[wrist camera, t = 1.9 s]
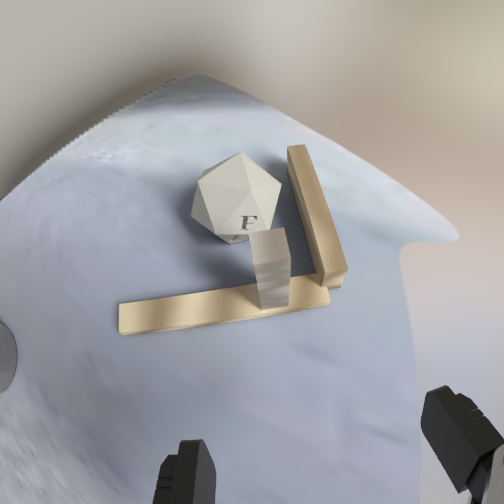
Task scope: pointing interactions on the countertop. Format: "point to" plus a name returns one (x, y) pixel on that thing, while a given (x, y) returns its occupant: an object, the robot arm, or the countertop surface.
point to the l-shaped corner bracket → (259, 271)
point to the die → (235, 199)
